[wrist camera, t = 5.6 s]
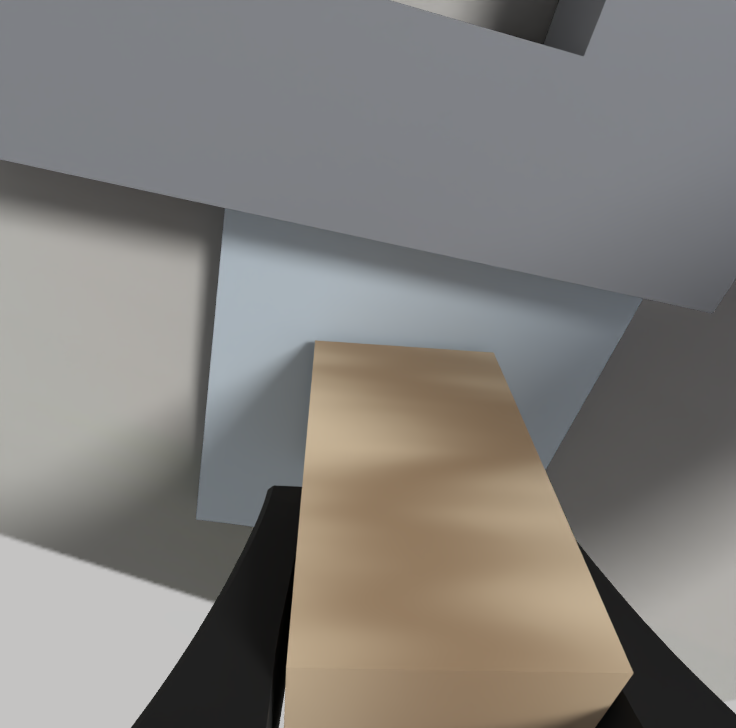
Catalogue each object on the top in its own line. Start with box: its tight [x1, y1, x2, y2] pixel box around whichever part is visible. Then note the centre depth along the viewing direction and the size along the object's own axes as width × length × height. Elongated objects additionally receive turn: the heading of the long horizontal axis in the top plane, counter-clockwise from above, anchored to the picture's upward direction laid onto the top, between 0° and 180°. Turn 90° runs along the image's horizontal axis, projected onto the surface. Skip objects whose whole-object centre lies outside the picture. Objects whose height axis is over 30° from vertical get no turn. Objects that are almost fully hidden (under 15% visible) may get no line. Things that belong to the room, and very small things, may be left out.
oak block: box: [284, 340, 633, 728], centre depth 10 cm, size 4×4×7 cm
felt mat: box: [196, 208, 643, 527], centre depth 14 cm, size 9×9×1 cm
